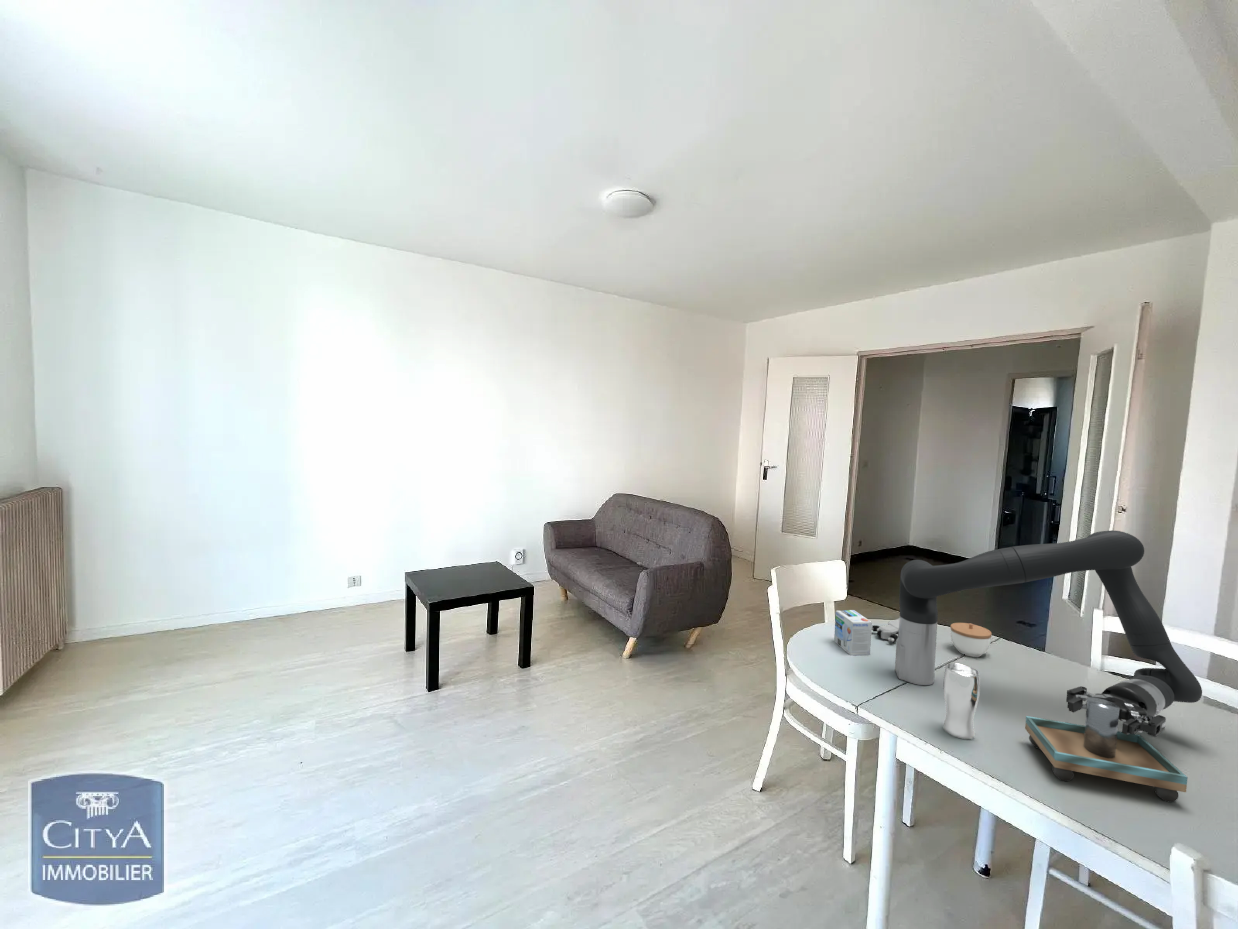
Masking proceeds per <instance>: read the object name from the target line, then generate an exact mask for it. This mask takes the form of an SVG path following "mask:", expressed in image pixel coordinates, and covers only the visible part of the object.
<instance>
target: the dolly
mask: <svg viewBox="0 0 1238 929" xmlns="http://www.w3.org/2000/svg"><path fill="white" fill-rule="evenodd" d="M1024 729H1025V730H1026V732H1027V733H1028V734H1029V736H1028V740H1029V742H1030V743H1031V744H1032V746H1033V747H1035V748H1036V749H1040V750H1041V751H1042V752H1043V754H1044V755H1045V756H1046V758H1047V759H1048V761H1049V763H1051V764H1052V768H1051V769H1052V773H1053V775H1055V776H1056V778H1057V779H1059V781H1062V782H1070V781H1072V779H1073V778H1074V772H1077V773H1083V774H1087V775H1092V776H1097V777H1103V778H1106V779H1107V778H1108V779H1113V780H1118V781H1123V782H1124V781H1125V782H1128V783H1135V784H1139V785H1146V786H1148V787H1149V786H1150V787H1153V790H1154V794H1156V795H1157V796H1158V797H1159V798H1160V799H1161V800H1162V801H1164V802H1168V801H1169V803H1172V802H1176V801H1177V800H1178V798H1179V792H1181V793H1187V788H1188V787H1187V786H1188V776H1187V775H1186V774H1184V773H1183V771H1181V769H1179V768H1178V767H1177V766H1176V765H1174V763H1172V762H1171V761H1170V760H1169V759H1168V758H1166V756H1164V754H1162V753H1161V752H1160V751H1159V750H1157V748H1155V747H1154V746H1153V745H1152V744H1151V743H1150V742H1149V741H1147V739H1146V738H1144V737H1143V736H1142V735H1141V734H1137V733H1135V734H1128V735H1126V734H1124V733H1122V731H1119V730H1118V732H1117V744H1116V755H1115V757H1114V758H1105V757H1101V756H1098V755H1095V754H1093V753H1091V752H1089V751H1088V750H1086V749H1085V748H1084V746H1083V745H1084V732H1085V724H1084V725H1082V724H1077V723H1071V722H1066V721H1058V720H1053V719H1046V718H1040V717H1036V716H1035V717H1034V716H1030V715H1029V716H1028V715H1026V716H1025V725H1024Z"/></svg>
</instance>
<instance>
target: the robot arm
mask: <svg viewBox="0 0 1238 929" xmlns="http://www.w3.org/2000/svg"><path fill="white" fill-rule="evenodd" d="M1144 555H1145V547H1144V544H1143V543H1142V542H1141V540H1140V539H1139V538H1137V537H1136V536H1134V535H1132V534H1131V533H1129V532H1125V531H1121V530H1101V531H1096V532H1093V533H1091V534H1090V535H1088V536H1086V537H1084V538H1079V539H1074V540H1072V541H1071V540H1070V541H1065V542H1064V541H1063V542H1056V543H1039V544H1038V543H1037V544H1025V545H1015V546H1009V547H1002V548H999V549H997V548H996V549H992V550H989V551H988V550H987V551H985V552H982V553H980V554H977V555H975V556H974V555H973V556H972V557H970V558H967V559H965V560H962V561H958V562H955V563H948V564H940V565H932V564H931V563H929V562H928V561H925V560H924V559H923V560H922V559H913V560H912V559H911V560H909V561H907V562H906V563H905V564H904V565H903V566H902V568H901V571H900V577H899V595H898V596H899V600H898V602H899V636H898V638H897V640H896V641H895V642H896V644H895V646H896V647H895V660H894V664H895V665H894V671H895V673H896V676H897V678H898V679H899V680H902V681H905V682H907V683H911V684H915V685H919V686H929V685H932V684H934V682H935V675H936V674H935V673H936V672H935V669H936V654H937V653H936V652H937V636H938V617H939V615H938V614H939V612H938V597H940V596H944V595H949V594H953V593H955V592H956V593H957V592H960V591H965V590H967V591H968V590H973V589H984V588H991V587H992V588H993V587H999V586H1009V585H1017V584H1023V583H1028V582H1034V581H1038V580H1044V579H1049V578H1055V577H1058V576H1059V577H1060V576H1062V575H1067V574H1071V573H1077V572H1084V571H1095V573H1096V575H1097V576H1098V577H1099V580H1100V581H1101V583H1102V585H1103V587H1104V589H1105V590H1106V593H1107V594H1108V596H1109V598H1110V601H1111V603H1112V605H1113V607H1114V609H1115V611H1116V614H1117V616H1118V619H1119V622H1120V624H1121V626H1122V629H1123V631H1124V634H1125V636H1126V639H1127V641H1128V644H1129V646H1130V649H1131V651H1132V653H1133V654H1134V655H1135V656H1136V657H1138V658H1140V659H1145V660H1150V661H1153V662H1157V663H1158V664H1160V665H1161V666H1162V667H1163V668H1162V667H1161V668H1158V667H1155V668H1154V667H1142V668H1138V669H1136V670H1135V671H1134V674H1133V676H1132V678H1131V679H1126V680H1125V679H1124V680H1123V681H1120V682H1118V683H1115V684H1113V685H1110V686H1109V687H1107V688H1105V689H1104V690H1103V691H1102V692H1101V693H1091V692H1089V691H1088V688H1087V687H1086V686H1077V687H1074V688H1071V689H1068V690H1066V703H1067V706H1066V708H1067V709H1068V712H1071V713H1073V714H1074V713H1076V712H1079V711H1080V710H1086V708H1087V699H1088V698H1099V699H1103V700H1107V701H1109V702H1112V703H1114V704H1116V705H1117V706H1118V707H1119V708H1120V709H1119V721H1121V722H1122V730H1121V732H1122V733H1124V734H1126V735H1128V734H1137V733H1143V732H1145V733H1146V734H1147V735H1148V736H1150V737H1154V738H1156V737H1157V736H1159V735H1160V734H1161V733H1162V732H1163V731H1165V729H1166V719H1167V718H1166V717H1165V716H1163V715H1160V713H1161V712H1162V711H1163V710H1166V709H1168V708H1169V707H1171V705H1172V704H1173V703H1174V702H1175V703H1191V704H1192V703H1193V704H1194V703H1197V702H1198V701H1200V700H1201V698H1202V696H1203V689H1202V686H1201V684H1200V682H1199V680H1198V679H1197V677H1196V676H1195V675H1194V673H1193V672H1192V671H1191V670H1190V668H1188V666H1187V665H1186V663H1185V662H1184V661H1183V660H1182V659H1181V657H1180V656H1179V655H1178V653H1177V651H1176V650H1175V649H1174V647H1173V645H1172V643H1171V639H1170V638H1169V635H1168V632H1167V630H1166V628H1165V626H1164V624H1163V622H1162V620H1161V619H1160V616H1159V615H1158V613H1157V612H1156V610H1155V609H1154V607H1153V606H1152V605H1151V602H1149V600H1148V599H1147V597H1146V596H1145V595H1144V593H1143V591H1142V589H1141V588H1140V586H1139V584H1138V582H1137V580H1136V577H1135V575H1134V572H1133V568H1132V567H1133V566H1135V565H1137V564H1139V562H1140V561H1142V559H1143V557H1144ZM1084 702H1086V703H1085V704H1084Z"/></svg>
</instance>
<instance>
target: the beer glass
mask: <svg viewBox="0 0 1238 929" xmlns="http://www.w3.org/2000/svg"><path fill="white" fill-rule="evenodd" d="M980 694H981V673H980V671H979V670H978V669H976V668H974V667H972V666H970V665H966V664H964V663H956V662H949V663H946V664H945V672H944V677H943V696H944V698H943V699H944V703H945V719H944V722H943V725H942V727H943V730H944V731H945V732H946V733H947V734H948V735H951V736H952V737H954V738H957V739H960V740H973V739H974V738H975V734H976V733H975V728H974V727H975V726H974V721H975V720H974V719H975V714H976V711H977V707H978V704H979V700H980Z"/></svg>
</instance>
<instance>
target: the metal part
mask: <svg viewBox="0 0 1238 929" xmlns="http://www.w3.org/2000/svg"><path fill="white" fill-rule="evenodd" d="M1086 703H1087V708H1086V709H1085V719H1084V720H1085V723H1084V726H1085V732H1084V745H1083V746H1084V748H1085V749H1086V750H1088V751H1089V752H1091V753H1093V754H1095V755H1098V756H1101V757H1105V758H1114V757H1115V755H1116V744H1117V732H1118V731H1119V729H1118V728H1119V722H1120V720H1119V709H1120V708H1119V707H1118V706H1117V705H1116V704H1114V703H1112V702H1109V701H1107V700H1103V699H1099V698H1088V699H1087V700H1086Z"/></svg>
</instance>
